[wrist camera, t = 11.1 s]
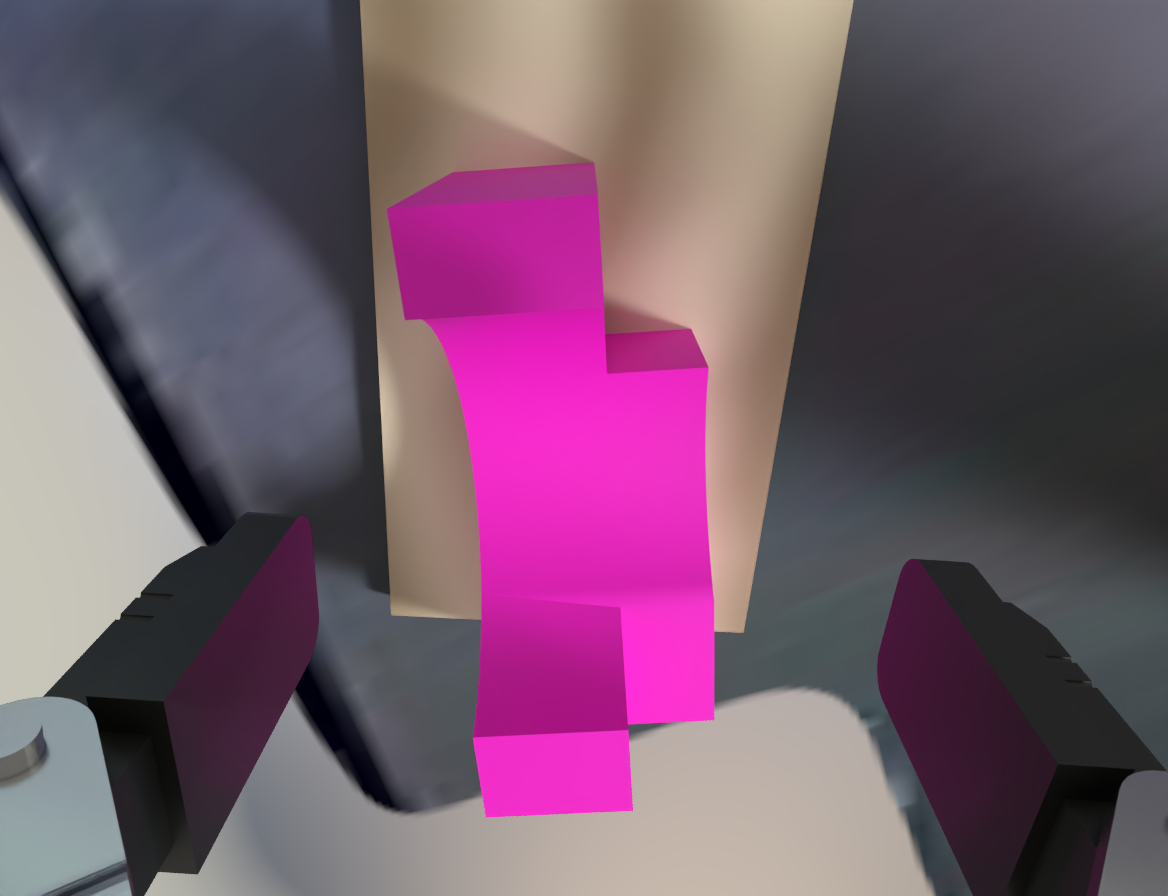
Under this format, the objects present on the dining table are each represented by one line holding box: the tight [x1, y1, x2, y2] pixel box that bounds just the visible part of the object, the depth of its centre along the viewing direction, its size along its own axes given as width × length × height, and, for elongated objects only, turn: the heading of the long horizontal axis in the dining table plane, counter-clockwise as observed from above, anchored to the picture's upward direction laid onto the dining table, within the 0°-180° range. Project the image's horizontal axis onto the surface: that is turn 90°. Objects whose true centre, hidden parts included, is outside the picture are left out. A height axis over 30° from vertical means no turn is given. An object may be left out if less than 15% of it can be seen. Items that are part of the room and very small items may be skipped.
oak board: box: [360, 0, 854, 633], centre depth 23 cm, size 12×20×1 cm, turn 177°
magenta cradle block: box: [387, 162, 714, 817], centre depth 20 cm, size 15×6×8 cm, turn 4°
